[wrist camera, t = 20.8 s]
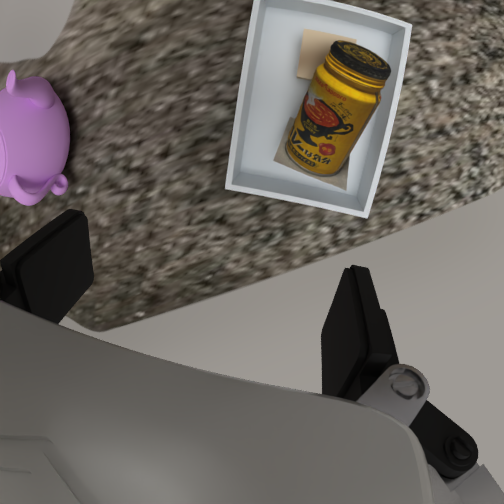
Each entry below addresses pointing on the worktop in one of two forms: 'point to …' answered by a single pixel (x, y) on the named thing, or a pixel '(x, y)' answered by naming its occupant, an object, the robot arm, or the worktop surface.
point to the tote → (291, 97)
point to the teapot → (32, 140)
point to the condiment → (334, 113)
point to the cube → (315, 51)
